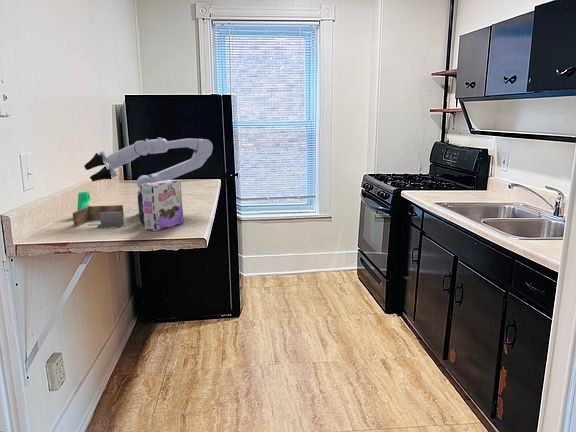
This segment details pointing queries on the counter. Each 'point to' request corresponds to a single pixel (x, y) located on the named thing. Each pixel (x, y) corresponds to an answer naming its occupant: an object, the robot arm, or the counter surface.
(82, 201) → the camera mount
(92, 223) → the pad
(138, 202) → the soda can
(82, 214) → the corner walls
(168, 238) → the counter surface
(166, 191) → the candy box
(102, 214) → the bracket
